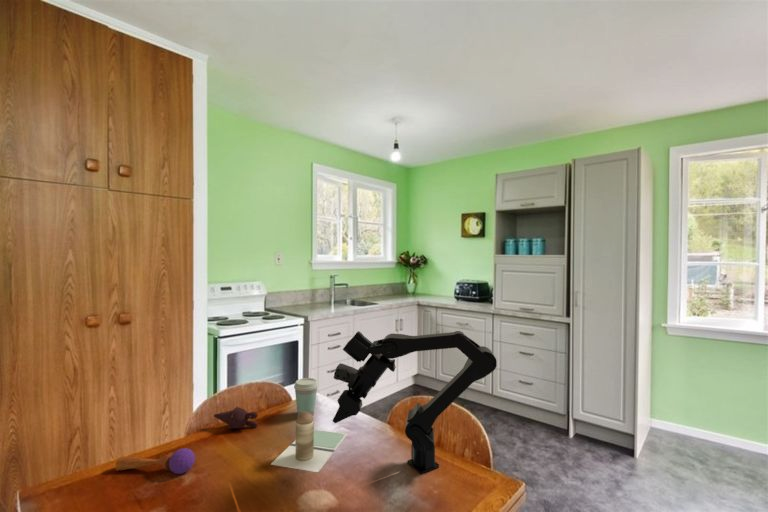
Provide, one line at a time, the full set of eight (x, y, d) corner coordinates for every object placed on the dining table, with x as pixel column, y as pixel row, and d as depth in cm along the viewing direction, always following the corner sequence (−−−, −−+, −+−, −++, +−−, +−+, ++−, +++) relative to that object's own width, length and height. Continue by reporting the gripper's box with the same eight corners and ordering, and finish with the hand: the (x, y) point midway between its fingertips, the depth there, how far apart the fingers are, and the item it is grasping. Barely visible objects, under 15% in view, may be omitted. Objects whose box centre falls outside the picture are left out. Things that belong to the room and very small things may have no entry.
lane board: (317, 473, 97) (317, 471, 97) (270, 465, 100) (270, 463, 100) (347, 435, 118) (347, 433, 118) (307, 429, 122) (307, 428, 122)
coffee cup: (322, 413, 135) (323, 380, 135) (306, 421, 127) (306, 386, 128) (305, 407, 139) (306, 376, 139) (288, 415, 132) (289, 382, 132)
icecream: (207, 413, 118) (253, 419, 118) (219, 399, 126) (262, 404, 125) (208, 431, 120) (253, 437, 119) (219, 416, 127) (262, 421, 127)
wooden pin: (316, 457, 104) (316, 413, 104) (298, 462, 101) (299, 417, 101) (309, 449, 108) (310, 407, 108) (293, 454, 105) (293, 410, 105)
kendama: (129, 447, 102) (199, 444, 101) (127, 471, 100) (198, 468, 100) (112, 455, 96) (186, 451, 95) (110, 480, 95) (185, 477, 94)
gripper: (355, 345, 113) (325, 384, 115) (340, 364, 95) (305, 410, 96) (383, 368, 112) (353, 407, 114) (374, 392, 94) (338, 438, 95)
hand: (338, 414), depth 105 cm, fingers open, 9 cm apart
